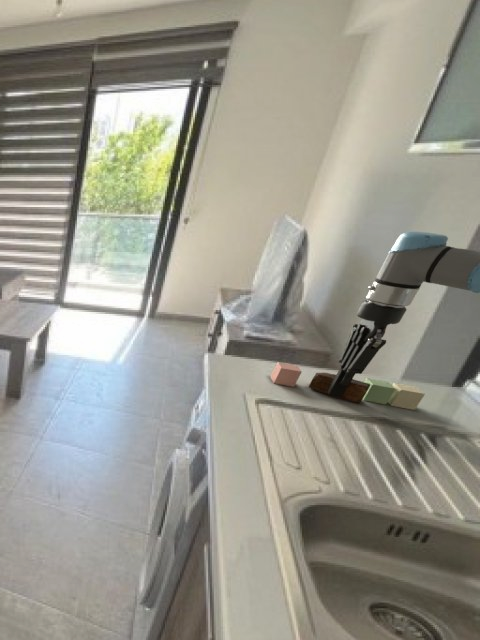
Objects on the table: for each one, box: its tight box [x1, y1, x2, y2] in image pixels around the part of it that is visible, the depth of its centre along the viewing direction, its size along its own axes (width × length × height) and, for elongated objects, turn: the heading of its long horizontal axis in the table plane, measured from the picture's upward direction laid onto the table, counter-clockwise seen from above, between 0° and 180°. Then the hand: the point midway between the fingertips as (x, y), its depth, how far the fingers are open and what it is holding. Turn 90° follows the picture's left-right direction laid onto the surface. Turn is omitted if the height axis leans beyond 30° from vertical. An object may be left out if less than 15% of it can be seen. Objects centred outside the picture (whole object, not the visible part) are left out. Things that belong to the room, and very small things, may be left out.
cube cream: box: [387, 382, 426, 411], centre depth 120 cm, size 4×4×4 cm
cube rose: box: [270, 362, 303, 388], centre depth 129 cm, size 4×4×4 cm
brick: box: [308, 372, 370, 404], centre depth 123 cm, size 11×4×5 cm, turn 40°
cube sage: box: [362, 377, 395, 405], centre depth 122 cm, size 4×4×4 cm
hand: (334, 393), depth 121 cm, fingers closed
